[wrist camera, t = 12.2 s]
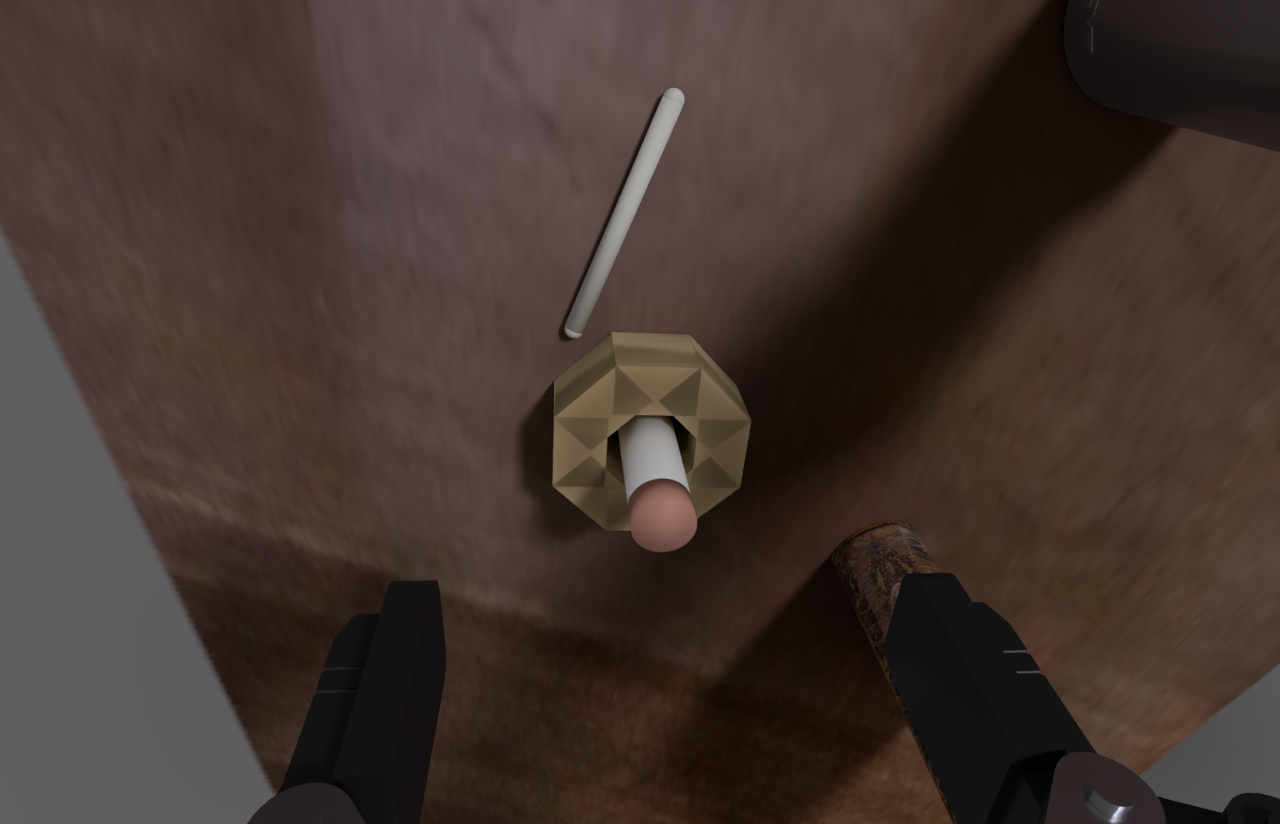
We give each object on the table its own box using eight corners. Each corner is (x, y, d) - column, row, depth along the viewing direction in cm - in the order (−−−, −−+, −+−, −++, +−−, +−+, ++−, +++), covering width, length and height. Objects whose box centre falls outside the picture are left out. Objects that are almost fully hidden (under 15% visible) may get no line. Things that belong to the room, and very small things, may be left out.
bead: (743, 335, 41) (760, 369, 38) (720, 488, 46) (733, 530, 43) (555, 330, 40) (554, 363, 37) (552, 488, 45) (551, 530, 42)
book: (824, 546, 49) (1031, 996, 28) (904, 510, 48) (1182, 946, 27) (900, 693, 57) (1108, 1132, 36) (971, 664, 56) (1227, 1097, 35)
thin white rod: (666, 82, 35) (669, 85, 34) (686, 92, 35) (689, 95, 34) (561, 329, 40) (561, 337, 39) (579, 336, 40) (579, 343, 40)
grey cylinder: (671, 391, 43) (700, 499, 34) (666, 438, 44) (693, 552, 35) (617, 390, 42) (633, 499, 34) (614, 437, 44) (628, 552, 35)
